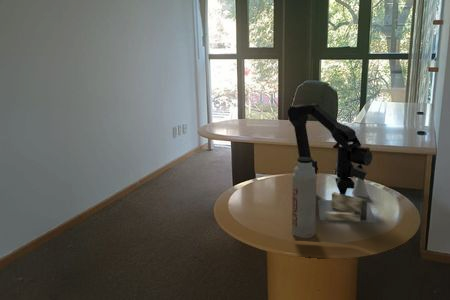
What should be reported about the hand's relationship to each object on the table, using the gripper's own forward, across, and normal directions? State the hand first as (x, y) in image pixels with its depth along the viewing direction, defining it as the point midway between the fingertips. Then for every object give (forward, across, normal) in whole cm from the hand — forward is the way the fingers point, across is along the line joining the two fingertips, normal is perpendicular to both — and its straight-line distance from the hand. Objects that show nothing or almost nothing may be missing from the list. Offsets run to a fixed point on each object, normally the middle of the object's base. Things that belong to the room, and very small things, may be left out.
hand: (342, 197), depth 163 cm
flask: (+4, +13, -8) cm, 16 cm away
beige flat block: (+3, -7, -1) cm, 8 cm away
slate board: (+4, -6, 0) cm, 7 cm away
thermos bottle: (+4, -27, +16) cm, 32 cm away
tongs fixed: (+3, -14, 0) cm, 14 cm away
